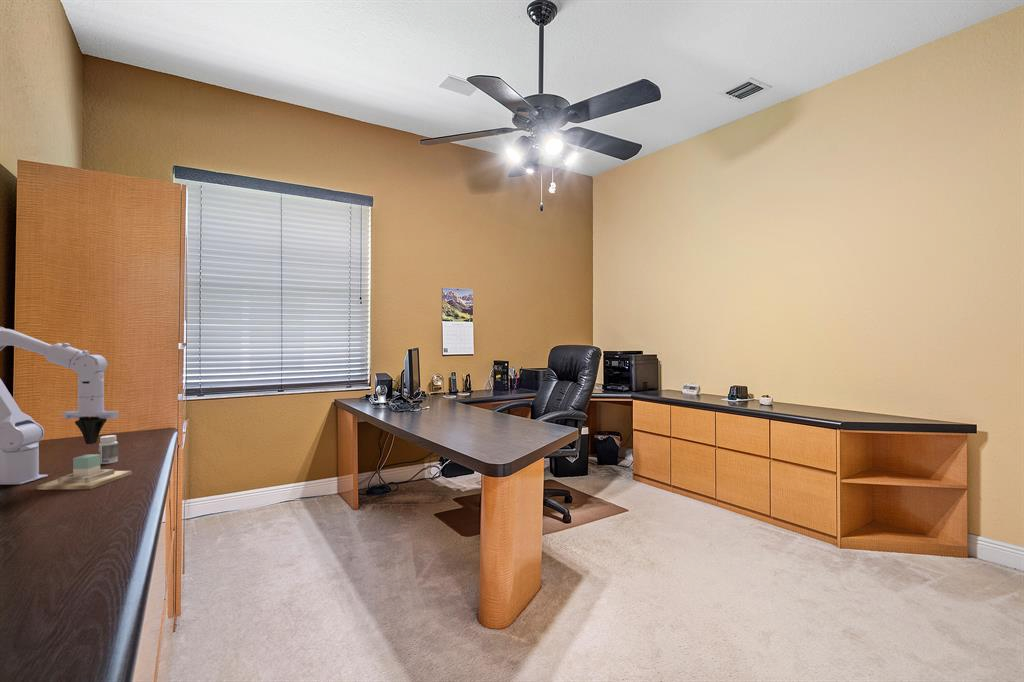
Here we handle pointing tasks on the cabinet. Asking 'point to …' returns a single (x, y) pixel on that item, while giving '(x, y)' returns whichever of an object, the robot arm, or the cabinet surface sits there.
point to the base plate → (84, 480)
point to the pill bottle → (108, 449)
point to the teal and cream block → (86, 465)
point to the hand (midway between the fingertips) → (91, 443)
